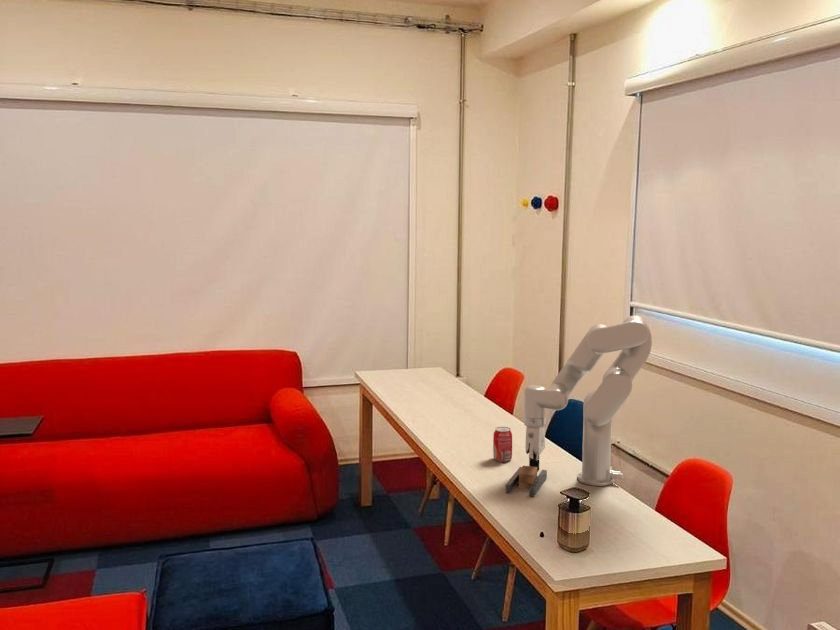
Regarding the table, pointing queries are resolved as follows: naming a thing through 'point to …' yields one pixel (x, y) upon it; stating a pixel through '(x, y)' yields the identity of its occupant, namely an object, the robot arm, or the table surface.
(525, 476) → the walnut block
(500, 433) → the soda can
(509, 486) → the guide channel
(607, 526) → the table surface
